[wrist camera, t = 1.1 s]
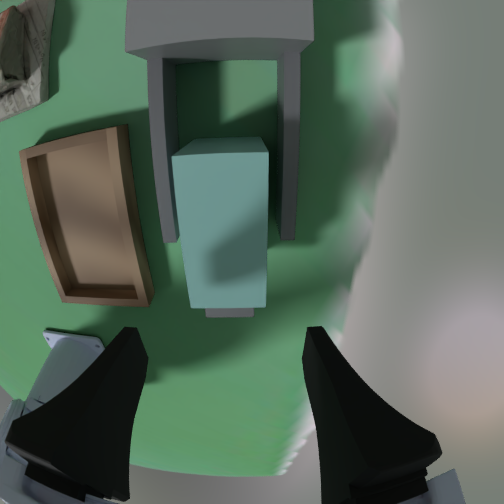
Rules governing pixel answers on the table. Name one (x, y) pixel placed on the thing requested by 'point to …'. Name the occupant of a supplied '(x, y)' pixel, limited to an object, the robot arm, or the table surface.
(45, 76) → the packaged product
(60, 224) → the tray
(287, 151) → the bay
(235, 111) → the table surface
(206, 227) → the tall teal block
